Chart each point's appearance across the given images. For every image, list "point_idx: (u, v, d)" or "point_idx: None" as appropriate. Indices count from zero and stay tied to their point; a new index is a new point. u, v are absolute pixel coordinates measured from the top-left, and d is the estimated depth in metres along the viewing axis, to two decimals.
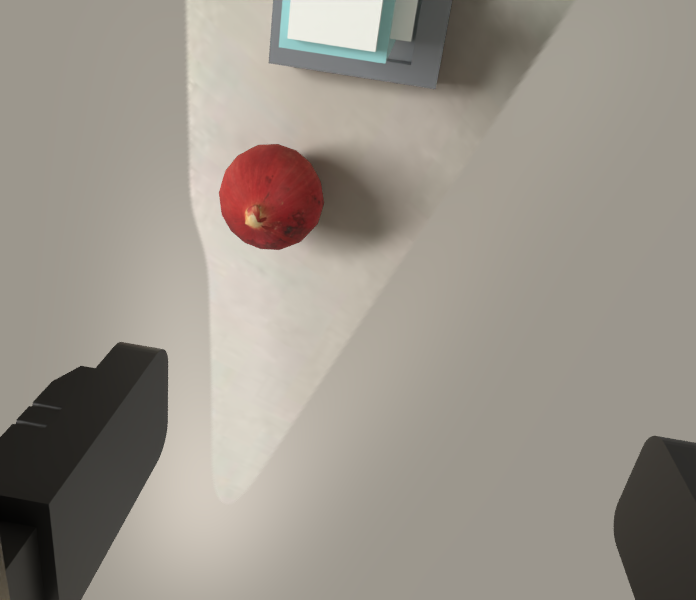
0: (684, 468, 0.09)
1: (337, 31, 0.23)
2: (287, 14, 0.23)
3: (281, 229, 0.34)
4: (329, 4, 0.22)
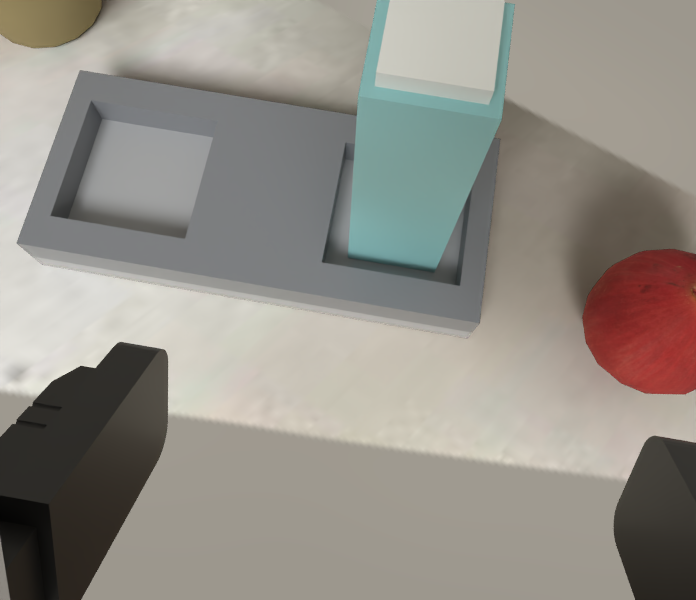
0: (684, 468, 0.09)
1: (482, 34, 0.18)
2: (461, 105, 0.18)
3: None
4: (451, 41, 0.17)
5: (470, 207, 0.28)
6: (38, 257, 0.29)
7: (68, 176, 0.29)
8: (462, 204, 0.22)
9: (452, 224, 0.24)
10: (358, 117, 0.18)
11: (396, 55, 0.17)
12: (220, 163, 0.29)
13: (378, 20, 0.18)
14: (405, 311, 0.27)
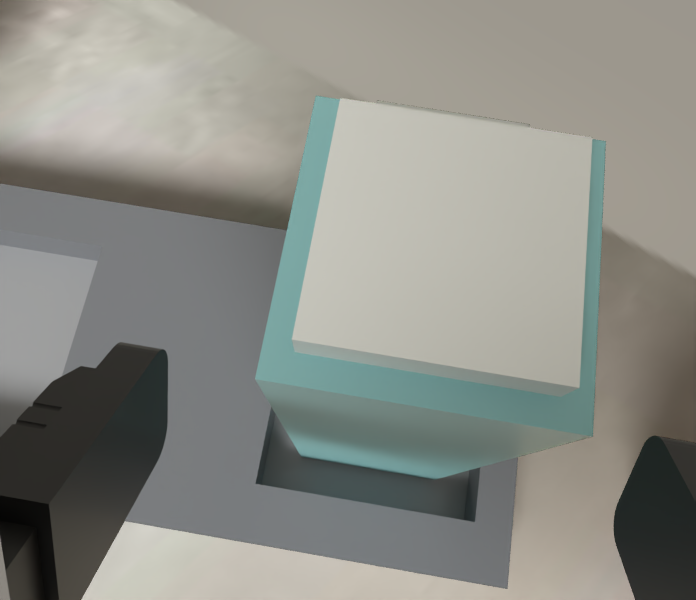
0: (684, 468, 0.09)
1: (545, 233, 0.08)
2: (496, 400, 0.07)
3: None
4: (472, 252, 0.07)
5: None
6: None
7: None
8: (485, 464, 0.12)
9: (465, 469, 0.14)
10: (267, 394, 0.08)
11: (341, 291, 0.07)
12: (103, 316, 0.19)
13: (309, 183, 0.08)
14: None
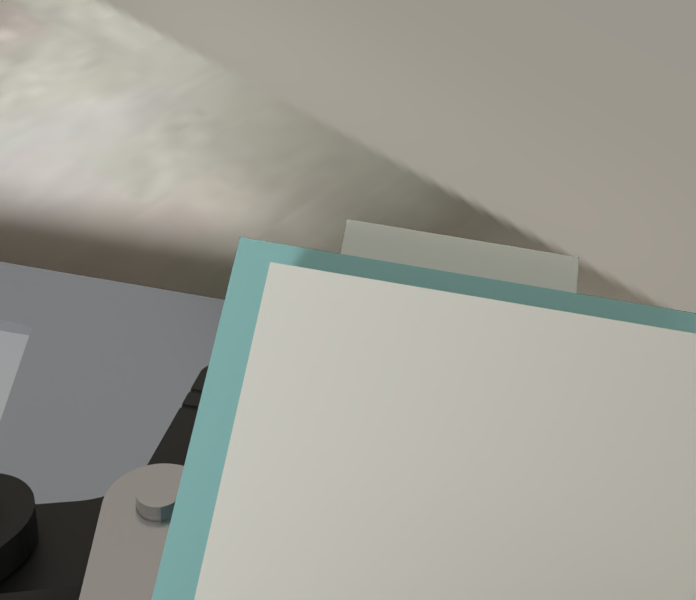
0: None
1: (633, 530, 0.04)
2: None
3: None
4: (500, 572, 0.04)
5: None
6: None
7: None
8: None
9: None
10: None
11: None
12: (30, 414, 0.15)
13: (221, 396, 0.05)
14: None
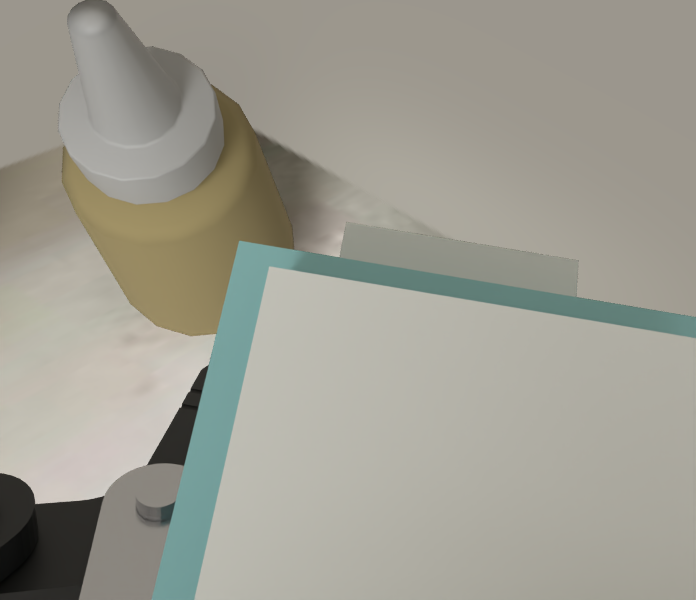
0: None
1: (634, 537, 0.04)
2: None
3: None
4: (501, 579, 0.04)
5: None
6: None
7: None
8: None
9: None
10: None
11: None
12: None
13: (221, 401, 0.05)
14: None
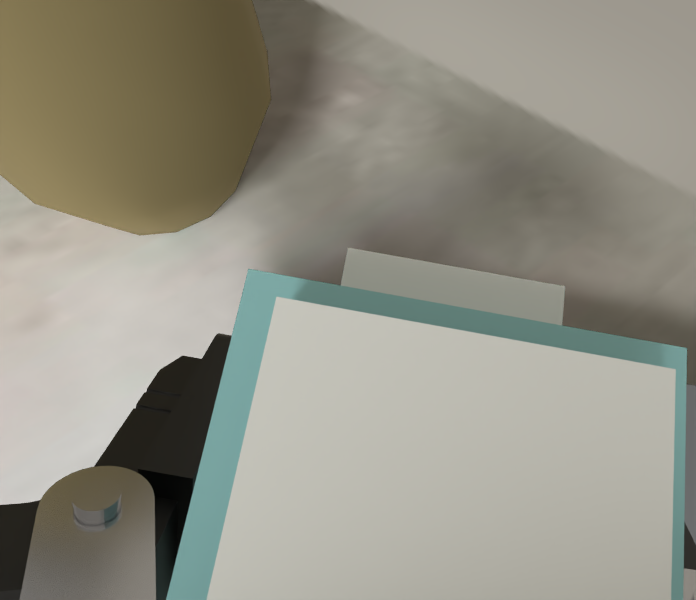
0: None
1: (604, 548, 0.05)
2: None
3: None
4: (481, 584, 0.04)
5: None
6: None
7: None
8: None
9: None
10: None
11: None
12: None
13: (231, 418, 0.05)
14: None
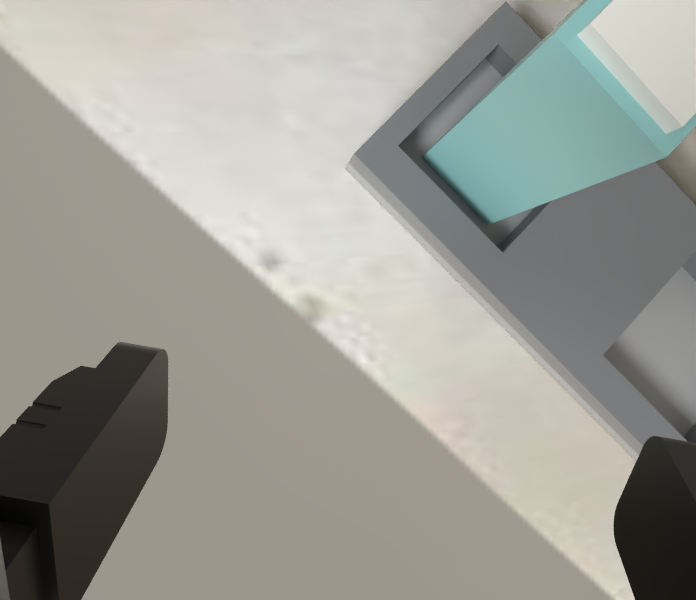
0: (684, 468, 0.09)
1: None
2: (640, 116, 0.15)
3: None
4: (683, 44, 0.15)
5: None
6: (353, 167, 0.26)
7: (432, 111, 0.26)
8: (561, 195, 0.20)
9: (537, 202, 0.22)
10: (537, 52, 0.16)
11: (622, 20, 0.14)
12: (575, 197, 0.26)
13: None
14: (640, 444, 0.26)
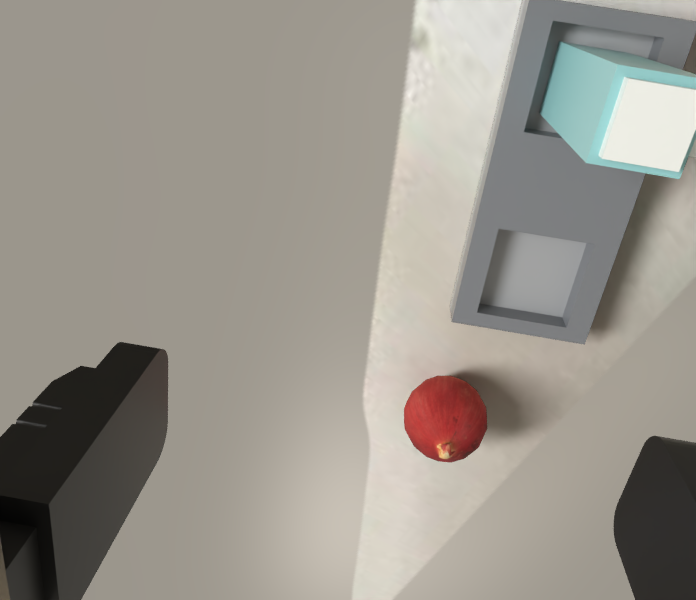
0: (684, 468, 0.09)
1: (648, 154, 0.26)
2: (599, 137, 0.26)
3: (462, 455, 0.42)
4: (646, 132, 0.26)
5: (533, 322, 0.42)
6: (524, 1, 0.35)
7: (591, 26, 0.34)
8: (562, 135, 0.32)
9: (555, 128, 0.33)
10: (610, 63, 0.26)
11: (641, 93, 0.25)
12: None
13: (682, 80, 0.25)
14: (461, 279, 0.41)
